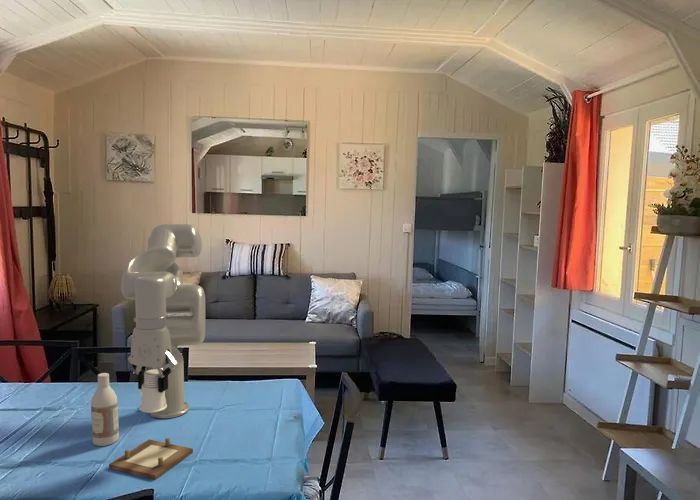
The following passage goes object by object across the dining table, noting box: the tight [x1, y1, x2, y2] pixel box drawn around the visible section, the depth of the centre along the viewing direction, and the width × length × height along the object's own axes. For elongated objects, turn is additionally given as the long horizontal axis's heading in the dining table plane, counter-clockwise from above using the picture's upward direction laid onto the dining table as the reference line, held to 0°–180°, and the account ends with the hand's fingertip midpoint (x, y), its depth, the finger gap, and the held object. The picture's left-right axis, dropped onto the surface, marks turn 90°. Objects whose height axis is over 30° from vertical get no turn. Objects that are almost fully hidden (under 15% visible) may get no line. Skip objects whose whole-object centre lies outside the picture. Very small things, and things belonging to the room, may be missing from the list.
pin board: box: [108, 437, 194, 481], centre depth 143 cm, size 15×15×3 cm
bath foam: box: [90, 372, 120, 447], centre depth 153 cm, size 7×7×20 cm
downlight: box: [138, 368, 167, 414], centre depth 142 cm, size 8×7×10 cm
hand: (153, 388), depth 142 cm, fingers closed on downlight, 5 cm apart
